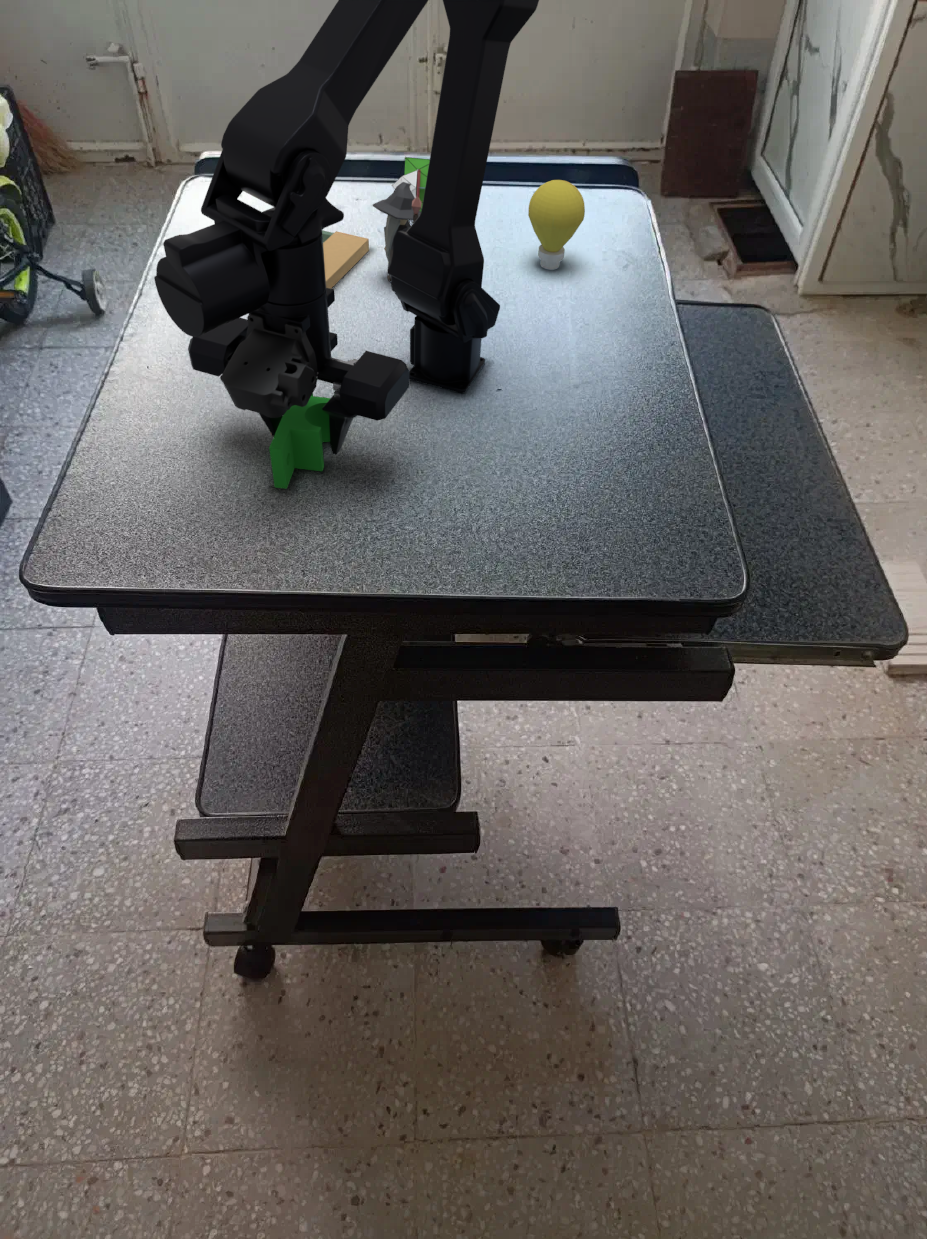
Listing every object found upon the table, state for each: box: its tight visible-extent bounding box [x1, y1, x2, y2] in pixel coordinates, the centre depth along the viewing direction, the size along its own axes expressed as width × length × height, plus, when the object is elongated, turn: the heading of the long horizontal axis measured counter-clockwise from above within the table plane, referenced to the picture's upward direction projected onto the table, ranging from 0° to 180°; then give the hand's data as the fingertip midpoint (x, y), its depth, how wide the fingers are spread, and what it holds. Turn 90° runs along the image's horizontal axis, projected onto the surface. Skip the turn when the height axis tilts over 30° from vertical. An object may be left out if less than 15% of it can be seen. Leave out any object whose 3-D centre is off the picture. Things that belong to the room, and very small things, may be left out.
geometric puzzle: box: [391, 155, 430, 212], centre depth 116 cm, size 7×7×8 cm
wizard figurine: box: [372, 182, 422, 283], centre depth 102 cm, size 8×6×12 cm
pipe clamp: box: [268, 392, 331, 490], centre depth 83 cm, size 11×4×5 cm, turn 173°
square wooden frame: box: [322, 229, 370, 289], centre depth 108 cm, size 15×15×2 cm
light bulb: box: [527, 179, 586, 271], centre depth 107 cm, size 7×7×10 cm
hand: (306, 443), depth 84 cm, fingers open, 6 cm apart
